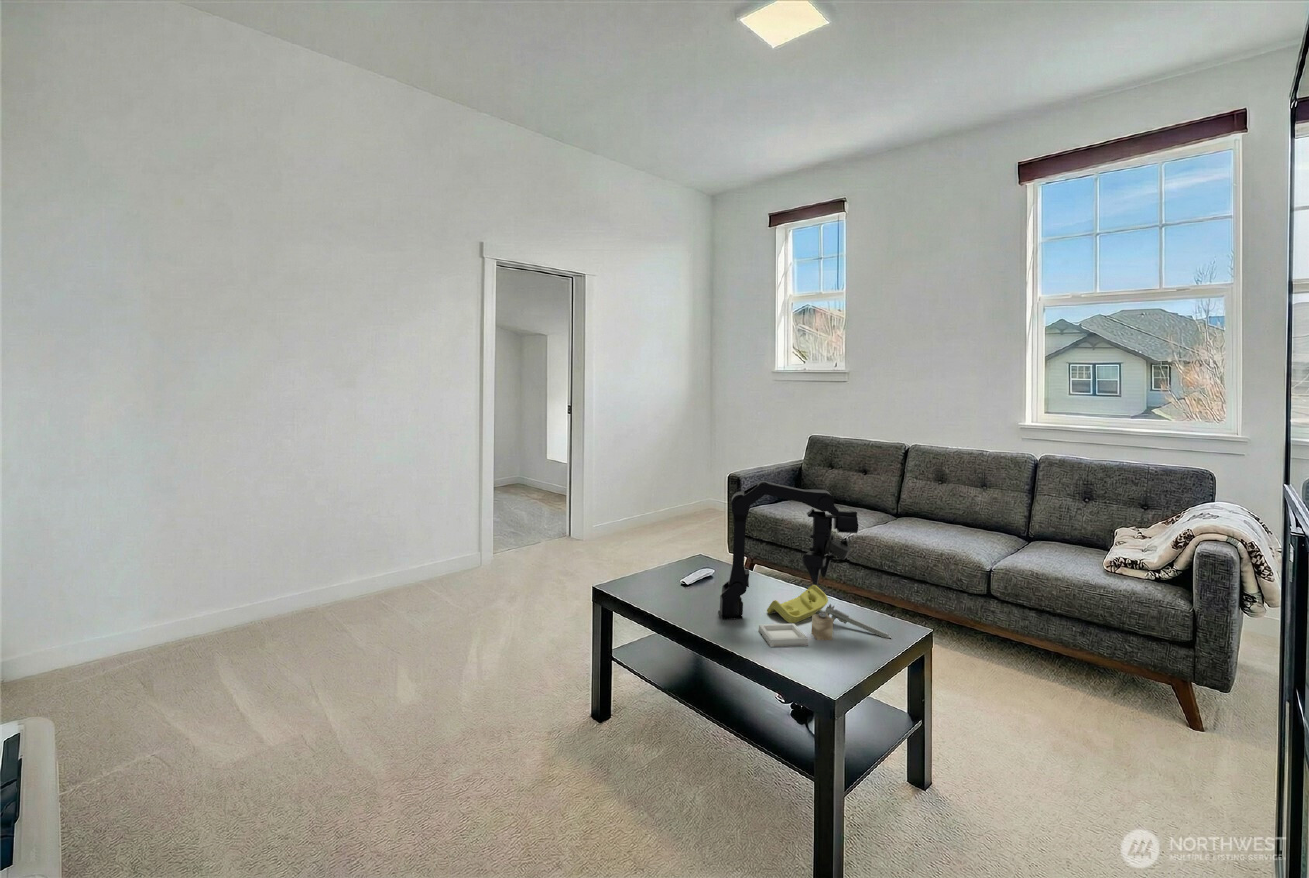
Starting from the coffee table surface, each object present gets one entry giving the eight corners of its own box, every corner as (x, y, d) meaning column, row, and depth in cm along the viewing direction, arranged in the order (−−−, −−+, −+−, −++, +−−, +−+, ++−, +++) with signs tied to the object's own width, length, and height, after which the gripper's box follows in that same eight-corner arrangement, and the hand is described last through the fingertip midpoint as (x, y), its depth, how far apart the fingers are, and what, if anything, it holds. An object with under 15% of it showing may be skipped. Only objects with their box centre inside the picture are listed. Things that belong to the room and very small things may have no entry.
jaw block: (817, 640, 173) (818, 617, 173) (811, 634, 178) (812, 611, 177) (832, 639, 174) (833, 616, 173) (825, 633, 178) (826, 610, 178)
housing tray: (770, 646, 168) (770, 639, 168) (758, 631, 179) (758, 624, 179) (807, 645, 170) (808, 638, 169) (793, 629, 180) (794, 623, 180)
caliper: (824, 623, 187) (824, 603, 187) (825, 622, 188) (826, 602, 187) (891, 640, 175) (892, 619, 174) (892, 639, 176) (893, 618, 175)
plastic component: (793, 619, 183) (771, 596, 190) (785, 635, 187) (764, 613, 193) (833, 601, 195) (811, 581, 202) (825, 617, 198) (804, 597, 205)
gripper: (840, 541, 172) (838, 594, 174) (855, 529, 188) (853, 577, 189) (802, 535, 178) (800, 586, 179) (820, 524, 194) (818, 571, 195)
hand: (819, 580), depth 186 cm, fingers open, 9 cm apart
